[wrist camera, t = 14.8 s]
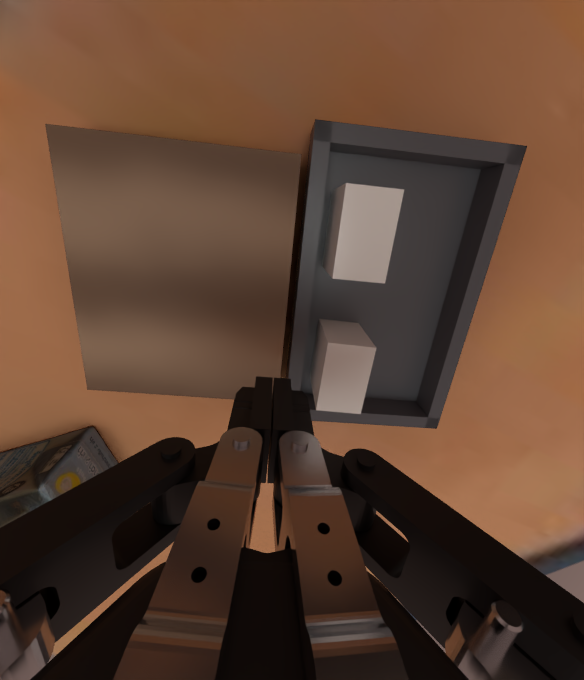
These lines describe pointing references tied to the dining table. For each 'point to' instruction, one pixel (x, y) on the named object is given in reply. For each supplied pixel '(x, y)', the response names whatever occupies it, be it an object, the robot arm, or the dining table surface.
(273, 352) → the flat wooden board
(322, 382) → the tile
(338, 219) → the tile
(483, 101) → the dining table surface
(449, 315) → the tray
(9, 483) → the beverage carton
